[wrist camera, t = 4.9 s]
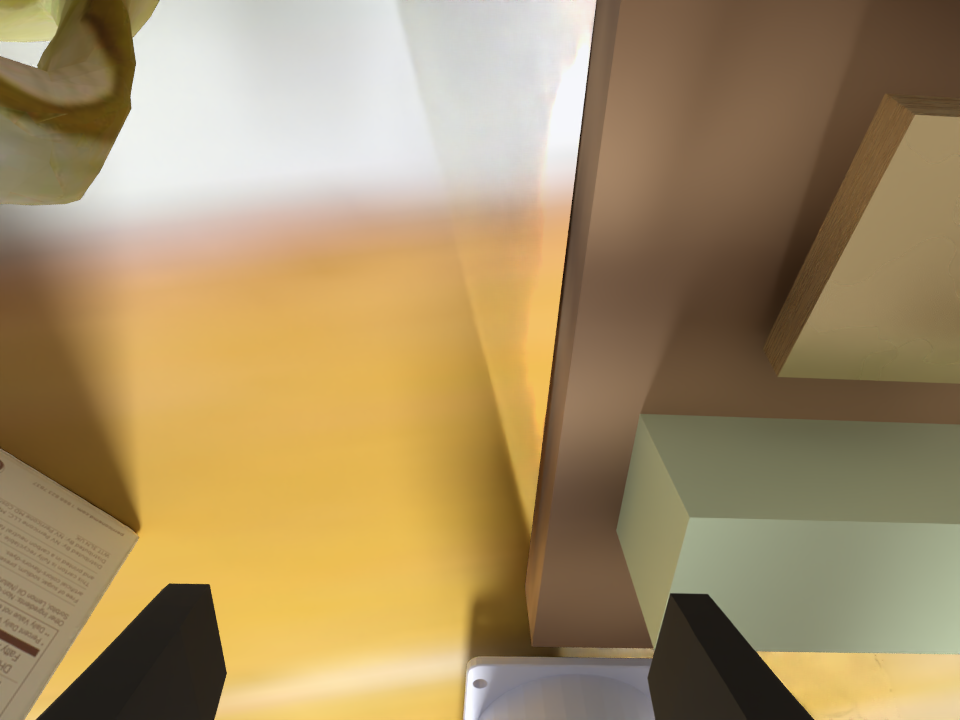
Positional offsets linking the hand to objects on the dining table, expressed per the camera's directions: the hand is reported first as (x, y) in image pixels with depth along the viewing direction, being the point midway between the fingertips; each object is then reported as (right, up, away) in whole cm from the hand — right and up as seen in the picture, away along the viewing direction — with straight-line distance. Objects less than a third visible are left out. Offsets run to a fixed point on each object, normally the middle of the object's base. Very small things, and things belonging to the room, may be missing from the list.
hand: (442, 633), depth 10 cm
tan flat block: (+10, +6, +3) cm, 12 cm away
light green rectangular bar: (+11, +1, +8) cm, 13 cm away
